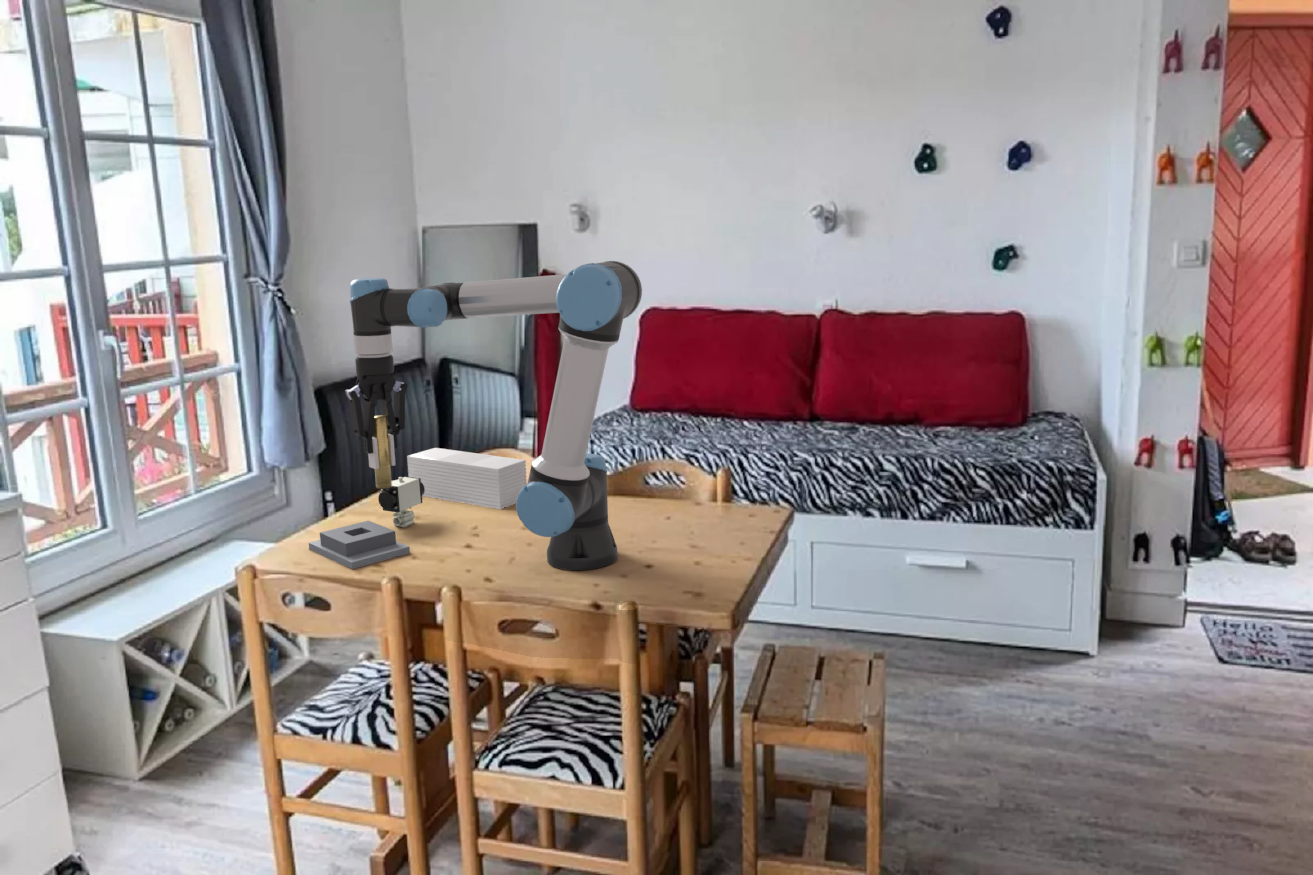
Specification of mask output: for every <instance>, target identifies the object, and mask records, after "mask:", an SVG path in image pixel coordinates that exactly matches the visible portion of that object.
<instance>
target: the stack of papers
mask: <svg viewBox="0 0 1313 875" xmlns="http://www.w3.org/2000/svg"><path fill="white" fill-rule="evenodd" d="M406 459H407V460H406V461H407V473H408V477H414V478H421V482H422V483H423V485H424V488H425V492H424V494H423V495H422V497H425V498H432V499H437V500H444V501H449V502H456V503H460V502H464V503H463V504H466V503H468V505H473V506H477V505H479V506H478V507H483V508H489V507H490V509H495V508H496V510H502V509H505V508H504V507H506V508H508V507H511V506H513V504H514V503H516V499H517V496H518V494H519V492H520V491H521V490H522V488H523V487H524V486H525V485H527V484H528V480H527V464H526V459H523V458H522V459H521V458H520V459H519V458H515V457H508V456H507V457H506V456H505V457H504V456H498V455H491V454H484V453H479V452H478V453H476V452H469V451H462V450H455V449H450V448H449V449H447V448H440V447H433V448H429V449H426V450H422V451H418V452H417V453H412V454H409V455H407V456H406ZM510 505H511V506H510ZM514 505H515V504H514Z"/></svg>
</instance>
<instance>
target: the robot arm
mask: <svg viewBox="0 0 1313 875" xmlns="http://www.w3.org/2000/svg"><path fill="white" fill-rule="evenodd" d="M349 287H350V288H349V289H350V291H349V292H350V294H349V295H350V300H349V304H350V309H351V317H352V318H351V320H352V330H353V331H352V332H353V345H354V346H353V347H354V354H356V356H355V361H354V362H355V371H356V378H357V379H356V382H355V385H354V386H353V387H352V388H350V389H347V388H346V389H345V390H344V394H345V396H346V398H347V400H348V404H349V411H350V417H351V424H352V429H353V434H354V435H355V436H358V437H359V438H360V437H361V438H363V448H364V452H365V454H367V456H368V467H369V468H371V469H373V470H375V469H379V460H378V446H377V438H375V437H373V431H374V417H375V413H376V406H377V405H378V404H377V403H378V402H379V404H380V407H381V412H382V415H386V416H387V427H388V440H389V454H390V467H391V466H396V454H395V452H396V450H395V449H397V448H398V435H399V434H400V431H401V430H403V431H404V429H405V428H406V393H407V390H408V384H407V382H402V381H398V380H397V379H396V377H395V375H394V371H395V365H394V364H395V363H394V356H393V355H392V352H393V351H394V350H393V349H394V348H393V337H392V336H393V335H392V327H408V328H410V327H412V328H420V329H426V328H436V327H437V328H438V327H440V326H441V325H442V324H443V322H445V321H452V320H464V319H465V320H466V319H475V318H476V319H477V318H490V317H492V318H493V317H507V316H508V317H509V316H511V317H512V316H527V315H540V314H558V313H559V315H560V317H559V323H558V330H559V332H560V334H561V335H562V337H563V345H562V349H561V355H560V358H559V364H558V370H557V373H556V374H557V375H556V380H555V384H554V389H553V395H552V400H551V403H550V404H551V405H550V410H549V414H548V420H547V424H546V430H545V436H544V439H543V443H542V444H543V445H542V450H541V454H540V455H539V456H537V457H535V458H534V459H532V460H531V461H532V462H531V465H530V469H529V475H528V480H527V485H525V486H524V487H523V488H522V490H521V491H520V492H519V494H518V496H517V499H516V504H515V510H516V514H517V517H518V518H519V520H520V521H521V523H522V524H523V526H524V527H525V529H527V530H528V531H529V532H531V533H532V534H534V535H536V536H540V537H543V538H550V540H549V544H548V546H547V550H546V559H547V560H546V561H547V563H548V565H549V566H552V567H553V568H557V569H561V570H567V571H587V570H594V569H595V570H596V569H600V568H604V567H607V566H610V565H611V564H613V563H615V562H616V561H617V560H618V556H619V554H618V546H617V543H616V540H615V537H614V534H613V532H612V529H611V527H610V523H609V516H608V514H609V513H608V511H609V509H608V505H609V504H608V479H607V474H608V469H607V463H606V459H605V458H604V457H603V455H600V454H596V453H589V452H588V448H589V442H590V437H591V433H592V429H593V425H594V419H595V415H596V410H597V404H598V400H599V396H600V391H601V388H602V387H601V384H602V382H603V377H604V376H603V375H604V371H605V367H606V362H607V358H608V354H609V349H610V348H611V347H612V346H614V345H615V344H617V343H618V342H619V339H620V335H621V332H622V331H621V330H622V326H623V321H624V319H626V318H628V317H630V316H631V315H633V313H634V312H635V311H636V309H637V308H638V307H639V305H640V303H641V300H642V295H643V287H642V283H641V280H640V277H639V275H638V274H637V273H636V271H635V270H634V269H633V268H632V267H631V266H629V265H628V264H625V263H623V262H621V261H616V260H609V261H603V262H596V263H594V262H591V263H590V262H589V263H585V264H582V265H579V266H577V267H576V268H574V269H572V270H570V271H568V273H565V274H563V273H562V274H554V275H553V274H552V275H551V274H550V275H542V276H541V275H539V276H530V277H518V278H516V277H515V278H505V279H502V278H501V279H492V280H480V281H479V280H478V281H466V282H445V283H441V284H437V285H430V286H429V285H428V286H423V287H416V288H390V286H389V281H388V280H387V279H386V278H384V277H383V278H380V277H365V278H356V279H355V278H354V279H353V280H351V282H350V285H349ZM392 391H393V399H392V395H391V393H392ZM361 395H362V403H363V411H362V405H361V400H360V398H359V397H360V396H361ZM392 403H393V404H392Z"/></svg>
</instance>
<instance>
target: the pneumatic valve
mask: <svg viewBox="0 0 1313 875" xmlns="http://www.w3.org/2000/svg"><path fill="white" fill-rule="evenodd" d="M391 481H392V487H389V488H384V489H380V493H379V494H378V503H379V506H380V507H381V508H382V511H385V512H392V513H393V514H392V516H393V519H392V522H393V526H394V527H396V528H397V527H402V528H403V529H404V528H407V527H410V526H411V525H414V524H415V520H414V519H415V514H414V510H411V509H412V507H416V506H418V505H421V504H423V496H422V495H423V494H424V492H425V488H424V485H423V483H422V482H421V478H414V477H409V476H404V477H403V476H399V477H398V479H395V480H391ZM408 509H410V510H408Z"/></svg>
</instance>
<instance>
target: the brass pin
mask: <svg viewBox="0 0 1313 875" xmlns="http://www.w3.org/2000/svg"><path fill="white" fill-rule="evenodd" d="M373 437H375V438H377V446H378V460H379V469H374V475H375V476H374V477H375V488H376V489H379V490H381V489H384V488H389V487H392V481H393V480H392V470H391V465H390V454H389V440H388V427H387V416H386V415H383V414H379V415H378V414H377V415H375V417H374V431H373Z"/></svg>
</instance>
